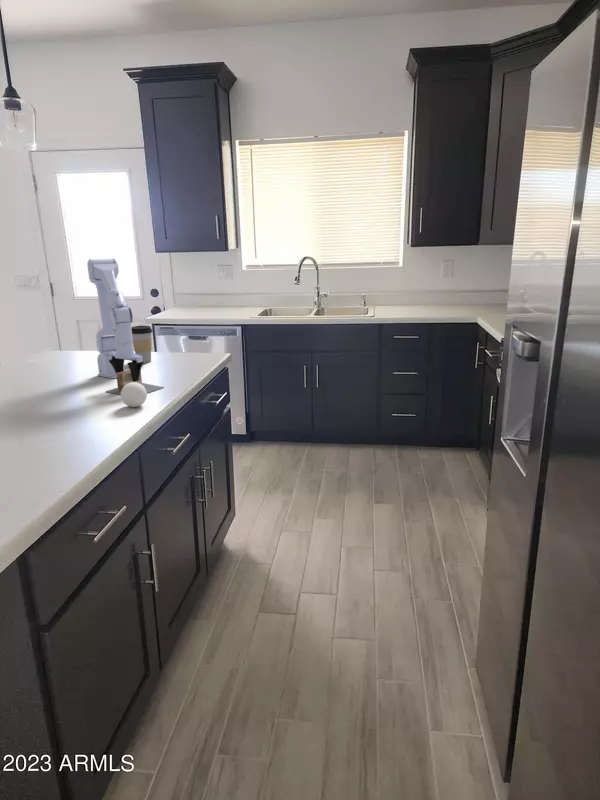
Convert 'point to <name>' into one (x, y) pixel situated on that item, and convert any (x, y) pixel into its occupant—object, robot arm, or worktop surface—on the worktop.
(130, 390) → the ball
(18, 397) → the worktop surface
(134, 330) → the coffee cup
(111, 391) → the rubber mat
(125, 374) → the brown wooden block
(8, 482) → the worktop surface
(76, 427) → the worktop surface
